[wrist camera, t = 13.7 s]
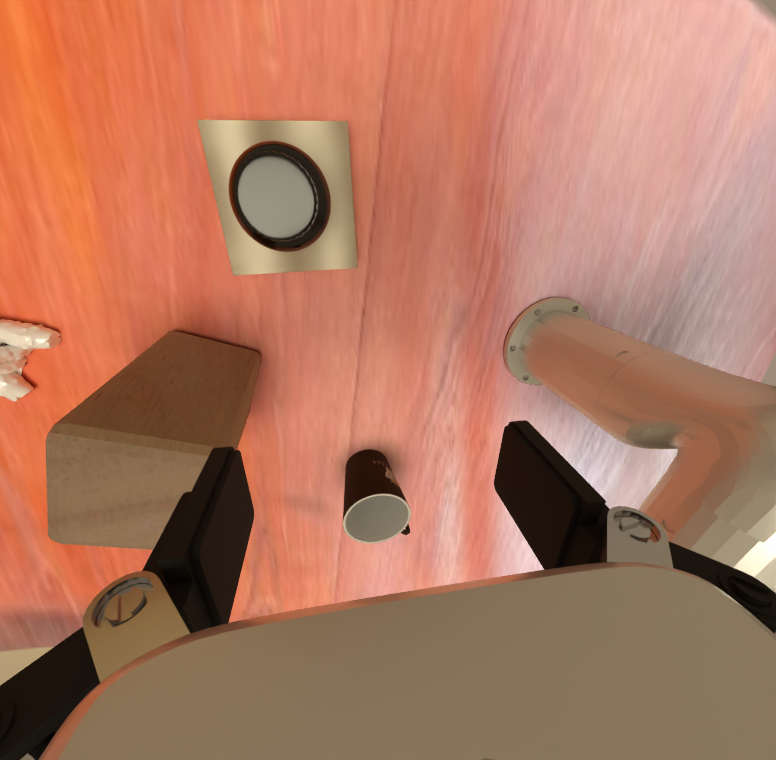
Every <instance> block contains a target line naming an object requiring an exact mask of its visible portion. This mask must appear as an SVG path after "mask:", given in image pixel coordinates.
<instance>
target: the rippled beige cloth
mask: <svg viewBox="0 0 776 760" xmlns="http://www.w3.org/2000/svg"><path fill="white" fill-rule="evenodd" d="M197 122H198V126H199V130H200V135H201V139H202V143H203V148H204V152H205V156H206V160H207V165H208V169H209V173H210V178H211V182H212V186H213V190H214V195H215V199H216V203H217V208H218V212H219V216H220V221H221V225H222V229H223V233H224V238H225V242H226V246H227V251H228V255H229V259H230V263H231V268H232V272H233V275H250V274H267V273H283V272H300V271H316V270H333V269H349V268H358V264H357V250H356V235H355V221H354V206H353V191H352V177H351V162H350V147H349V133H348V121H269V120H197ZM264 141H281V142H285V143H289V144H291V145H294V146H296V147H297V148H299V149H301V150H302V151H304V152H305V153H306V154H308V155H309V156H310V157H311V158H312V159H313V160H314V161H315V163H316V164H317V165H318V167H319V168H320V170H321V171H322V173H323V175H324V177H325V179H326V181H327V184H328V187H329V191H330V197H331V212H330V217H329V221H328V224H327V226H326V229H325V230H324V232H323V234H322V235H321V236H320V237H319V239H318V240H317V241H315V242H314V243H313V244H312V245H310V246H309V247H307V248H305V249H302V250H299V251H294V252H280V251H275V250H272V249H269V248H266V247H264V246H262V245H261V244H259V243H258V242H256V241H255V240H253V239H252V238H251V237H250V236H249V235H248V234H247V233H246V232H245V231H244V230H243V228H242V227H241V226H240V224H239V223H238V221H237V219H236V217H235V215H234V213H233V210H232V207H231V204H230V199H229V178H230V173H231V170H232V168H233V165H234V163H235V162H236V160H237V158H238V157H239V156H240V155H241V154H242V153H243V152H244V151H245V150H246V149H247V148H249V147H251V146H252V145H254V144H257V143H260V142H264Z"/></svg>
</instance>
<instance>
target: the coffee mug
mask: <svg viewBox="0 0 776 760" xmlns="http://www.w3.org/2000/svg"><path fill="white" fill-rule="evenodd" d="M410 516H411V511H410V507H409V505H408V503H407V501H406V499H405V497H404V495H403V493H402V491H401V489H400V487H399V484H398V482H397V480H396V478H395V476H394V474H393V472H392V470H391V468H390V466H389V464H388V462H387V459H386V458H385V456H384V455H383V454H382V453H380V452H378V451H375V450H363V451H360V452H357V453H356V454H354V455H353V456H352V457H351V458H350V459H349V460H348V462H347V464H346V474H345V494H344V514H343V527H344V530H345V532H346V534H347V535H348V536H349V537H350V538H352V539H353V540H355V541H358V542H361V543H379V542H383V541H386V540H389V539H391V538H393V537H395V536H396V535H398V534H399V533H400V532H401V533H402V534H404V535H407V534H409V533H410V528H409V525H408V523H409V520H410ZM404 528H406V530H404Z"/></svg>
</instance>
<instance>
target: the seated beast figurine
mask: <svg viewBox="0 0 776 760" xmlns="http://www.w3.org/2000/svg"><path fill="white" fill-rule="evenodd" d="M59 336H61V334H60V333H58V332H56V331H55V330H52V329H50V328H46V327H44V326H43V325H42V324H40V325H33V324H32V323H21V322H20V321H16V322H15V321H13V320H4V319H1V320H0V396H1V397H2V396H5V397H6V398H8V399H10V400H12V401H14V402H15V401H17V400H19V399H20V398H22V397H23V396H25V395H26V394H28V393H29V392H30V391H32V390H33V389H34V388H33V387H32V386H31V384H30V383H28V382H27V381H26V380H25V379H24V378H23V377H22V376H21V374H22V370H23V367H24V366H25V365H26V364H25V363H26V362H27V359H26V358H25V357H24V356H25V355H29V354H30V353H32V352H31V351H33V350H34V348H35V349H39V348H41V349H48V348H54V347H56V346H57V345H58V344H59V342H60V341H61V338H60V337H59ZM5 344H8V345H5ZM3 345H5V346H3Z"/></svg>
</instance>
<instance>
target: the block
mask: <svg viewBox="0 0 776 760" xmlns="http://www.w3.org/2000/svg"><path fill="white" fill-rule="evenodd" d="M260 363H261V358H260V354H259V353H257V352H255V351H253V350H249V349H245V348H241V347H237V346H233V345H229V344H225V343H221V342H217V341H213V340H209V339H205V338H201V337H197V336H193V335H190V334H186V333H182V332H177V331H174V332H168V333H167V334H166V335H165V336H163V337H162V338H161V339H160V340H158V341H157V342H156V343H155V344H153V345H152V346H151V347H150V348H149V349H147V350H146V351H145V352H144V353H142V354H141V355H140V356H139V357H137V358H136V359H135V360H134V361H132V362H131V363H130V364H129V365H127V366H126V367H125V368H124V369H123V370H121V371H120V372H119V373H118V374H116V375H115V376H114V377H113V378H111V379H110V380H109V381H108V382H106V383H105V384H104V385H103V386H102V387H100V388H99V389H98V390H97V391H95V392H94V393H93V394H92V395H90V396H89V397H88V398H87V399H85V400H84V401H83V402H82V403H81V404H79V405H78V406H77V407H76V408H74V409H73V410H72V411H71V412H69V413H68V414H67V415H66V416H64V417H63V418H62V419H61V420H59V421H58V422H57V423H56V424H55V425H54V426H53V427H52V428H51V430H50V431H49V433H48V435H47V439H46V471H47V509H48V536H49V537H50V538H51V540H53V541H55V542H58V543H60V544H73V545H88V546H104V547H119V548H135V549H150V550H153V549H154V547H155V545H156V544H157V542H158V540H159V538H160V536H161V534H162V532H163V530H164V528H165V526H166V524H167V523H168V521H169V519H170V517H171V515H172V513H173V511H174V509H175V507H176V505H177V503H178V502H179V500H180V498H181V496H182V495H183V494H184V493H185V492H190V491H192V489H193V487H194V485H195V483H196V481H197V479H198V477H199V475H200V473H201V471H202V469H203V467H204V465H205V463H206V461H207V459H208V457H209V455H210V453H211V451H212V449H213V448H218V447H229V446H232V447H233V448H234V450H237V448H238V445H239V442H240V439H241V436H242V433H243V430H244V427H245V424H246V421H247V418H248V414H249V409H250V405H251V401H252V397H253V393H254V388H255V384H256V380H257V376H258V372H259V367H260Z"/></svg>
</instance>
